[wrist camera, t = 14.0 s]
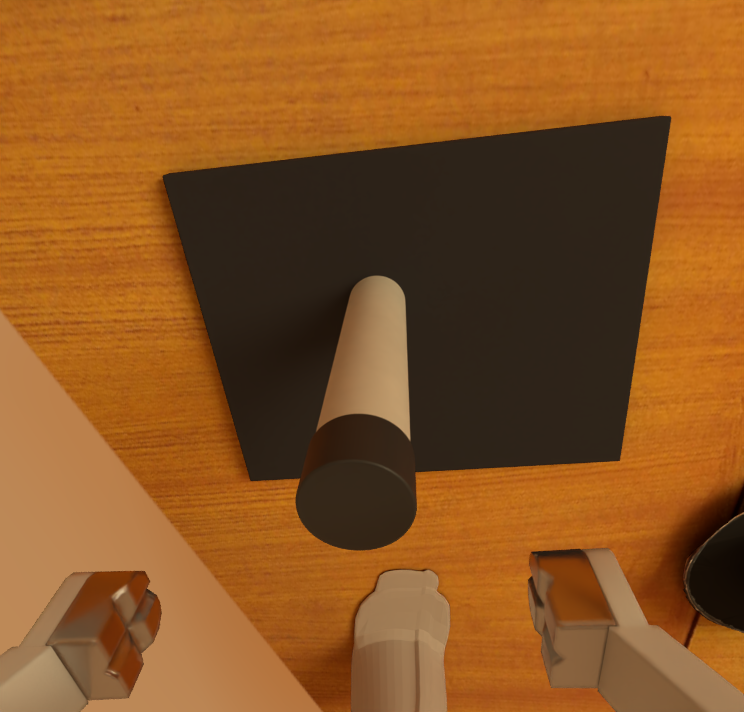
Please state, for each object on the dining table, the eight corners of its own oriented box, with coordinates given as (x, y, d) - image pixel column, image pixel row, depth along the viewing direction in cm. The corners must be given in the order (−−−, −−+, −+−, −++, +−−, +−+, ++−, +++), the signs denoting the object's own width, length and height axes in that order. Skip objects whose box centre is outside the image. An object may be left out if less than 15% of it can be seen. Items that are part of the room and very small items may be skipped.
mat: (253, 472, 31) (250, 481, 30) (168, 173, 23) (161, 175, 22) (614, 452, 29) (620, 461, 28) (663, 115, 21) (672, 116, 20)
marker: (351, 331, 25) (306, 553, 13) (343, 276, 24) (284, 464, 11) (409, 327, 25) (421, 549, 13) (404, 270, 24) (412, 456, 11)
